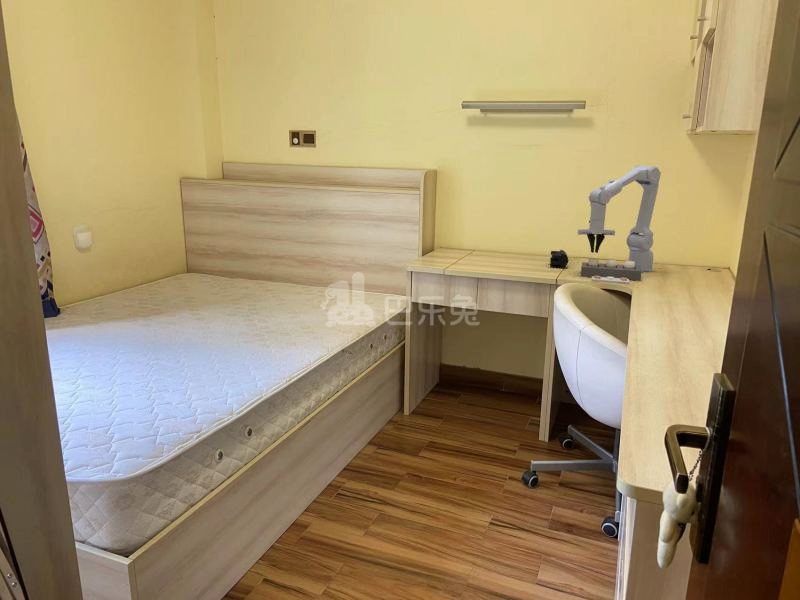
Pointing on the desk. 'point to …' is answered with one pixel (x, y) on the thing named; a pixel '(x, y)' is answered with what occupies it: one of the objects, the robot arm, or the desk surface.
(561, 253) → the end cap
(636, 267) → the grey slotted tray
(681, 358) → the desk surface
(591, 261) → the button
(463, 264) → the desk surface
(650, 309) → the desk surface
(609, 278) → the pattern card
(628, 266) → the button
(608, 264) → the button
